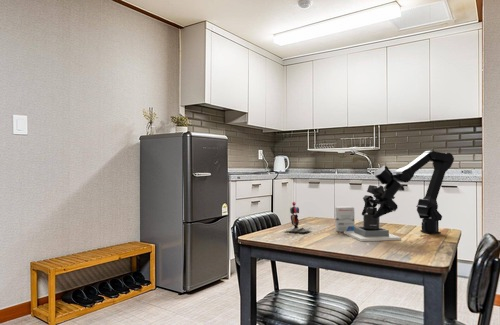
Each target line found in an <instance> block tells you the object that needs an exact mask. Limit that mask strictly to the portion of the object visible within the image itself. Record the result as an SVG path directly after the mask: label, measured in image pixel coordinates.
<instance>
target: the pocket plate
mask: <svg viewBox="0 0 500 325" xmlns="http://www.w3.org/2000/svg"><path fill="white" fill-rule="evenodd" d="M343 234H345V235H347V236H349V237H350V238H353V239H355V240H357V241H360V242H376V241H377V242H378V241H379V242H380V241H401V240H402V237H401V236H398V235H394V234H393V233H390V230H389V229H386V228H383V227H380V226H379V230H373V231H366V230H363V226H355V227H354V231H344V232H343Z"/></svg>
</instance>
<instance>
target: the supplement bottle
mask: <svg viewBox="0 0 500 325" xmlns="http://www.w3.org/2000/svg"><path fill="white" fill-rule="evenodd" d="M377 210H378V207H377V206H376V207H366V213H365V214H364V215H362V216H363V220H362V221H363V222H362V224H363V226H362V227H363V230H366V231H373V230H379V227H380V217H378V218H376V219H375V218H374V215H375V213H376V212H377Z"/></svg>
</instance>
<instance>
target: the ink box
mask: <svg viewBox="0 0 500 325" xmlns="http://www.w3.org/2000/svg"><path fill="white" fill-rule="evenodd" d="M334 213H335V214H334V217H335V219H334V220H335V224H334V225H335V231H336V232H338V233H340V232H343V233H344V231H354V227H356V226H355V208H354V207H353V206H335V207H334Z"/></svg>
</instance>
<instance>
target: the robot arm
mask: <svg viewBox="0 0 500 325" xmlns="http://www.w3.org/2000/svg"><path fill="white" fill-rule="evenodd" d="M454 160H455V157H454V155H453V154H452V153H451V152H438V151H435V150H425V151H423V153H421V155H419V156H417V158H415V159H414V160H412V161H411V162H410V163H408V164H407V165H406V166H402V167H400V168H397V169H395V170H394V171H393V172H392V171H391V170H390V169H389V168H388V166H387V165H382V166H380V167H379V168H378V169H376V170H375V171H374V173H373V175H374V177H375V178H376V179H377V180H378V181H379V182H380V184H381V185H380V184H379V185H373V184H372V185H371V184H370V185H369V186H368V188H367V190H366V192H367V193H368V194H369V193H370V194H371V195H368V194H367V195H364V196H363V197H362V199H363V201H364V202H363V203H364V207H363V209H362V212H361V216H363V215H364V214H365V213H366V207H376V208H377V206H378V205H379V207H378V208H377V212H376V213H375V215H374V218H375V219H376V218H378V217H379V218H380V217H383V216H384V215H387V214H389V213H393V212H396V211H397V210H398V207H399V205H398V204H397V203H396V202H395V200H394V199H395V198H396V196H395V195H396V194H397V193H398V192H399V191H400V192H402V191H403V192H404V191H405V187H404V186H405V185H404V184H401V183H409V182H410V181H411V180H412V179H413V177H414V176H415V174H416V172H418V171H419V170H420V169H421V168H423V167H424V166H425V165H427V164H428V163H430V162H432V166H433V172H432V175H431V177H430V181H429V184H428V187H427V190H426V193H425V196H424V197H423V198H419V199H418V201H417V204H416V211H417V214H418V217H419V219H422V220H421V221H422V222H421V229H420V231H419V232H422V233H425V234H441V231H439V229H440V228H439V221H442V219H443V215H442V214H441V212H440V211H439V210H438V209H439V204H438V202H437V200H438V196H439V193H440V189H441V188H442V184H443V181H444V177H445V175H446V172H447V171H448V170H450V168H451V167H452V165H453V163H454ZM383 185H384V186H383Z"/></svg>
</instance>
